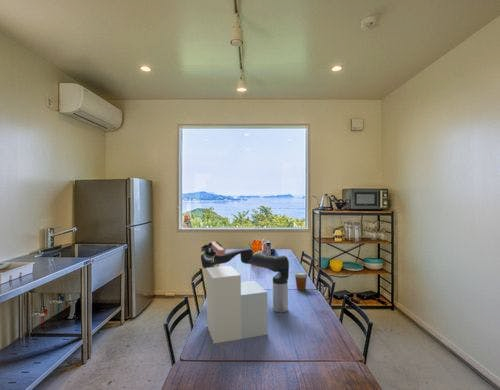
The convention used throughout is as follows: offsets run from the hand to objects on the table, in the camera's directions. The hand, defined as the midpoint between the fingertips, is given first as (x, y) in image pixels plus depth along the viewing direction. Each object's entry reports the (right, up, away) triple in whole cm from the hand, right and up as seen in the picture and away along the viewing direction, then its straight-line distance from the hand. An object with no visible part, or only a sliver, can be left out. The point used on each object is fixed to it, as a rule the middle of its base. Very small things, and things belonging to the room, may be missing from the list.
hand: (214, 243), depth 175 cm
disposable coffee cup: (+60, -42, +44) cm, 85 cm away
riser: (+14, -43, -20) cm, 49 cm away
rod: (+2, -3, -7) cm, 8 cm away
